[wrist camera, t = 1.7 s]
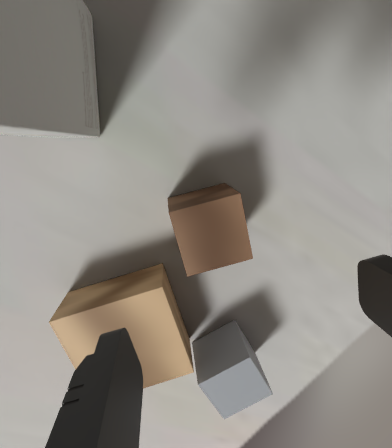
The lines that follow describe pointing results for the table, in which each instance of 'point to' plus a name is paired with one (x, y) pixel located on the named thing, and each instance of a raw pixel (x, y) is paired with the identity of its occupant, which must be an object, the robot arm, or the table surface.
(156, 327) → the oak base block
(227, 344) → the grey painted cube
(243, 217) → the walnut cube
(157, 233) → the table surface
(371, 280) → the robot arm
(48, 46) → the supplement box
